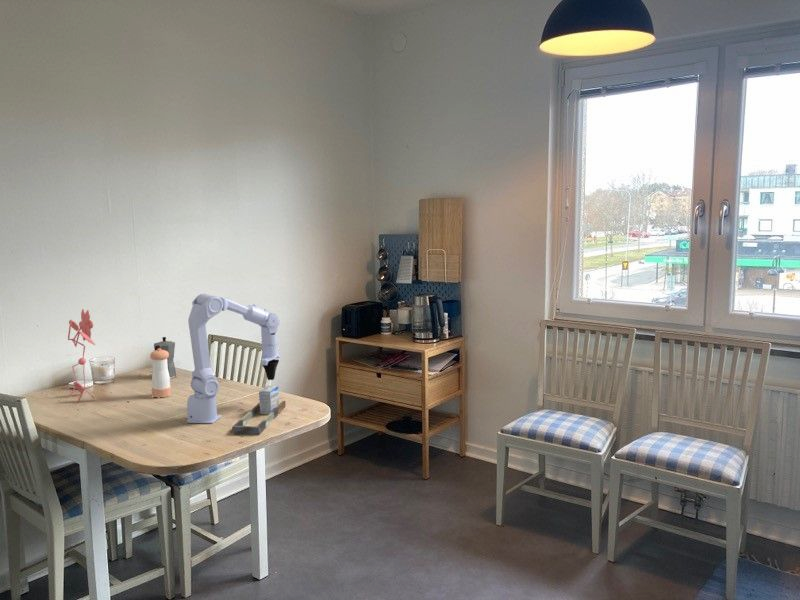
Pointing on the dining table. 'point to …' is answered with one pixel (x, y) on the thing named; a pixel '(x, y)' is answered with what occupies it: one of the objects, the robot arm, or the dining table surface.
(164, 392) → the salt shaker
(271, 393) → the medicine box
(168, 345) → the coffeepot
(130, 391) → the dining table surface
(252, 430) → the trap channel
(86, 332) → the figurine
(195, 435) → the dining table surface
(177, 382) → the dining table surface
